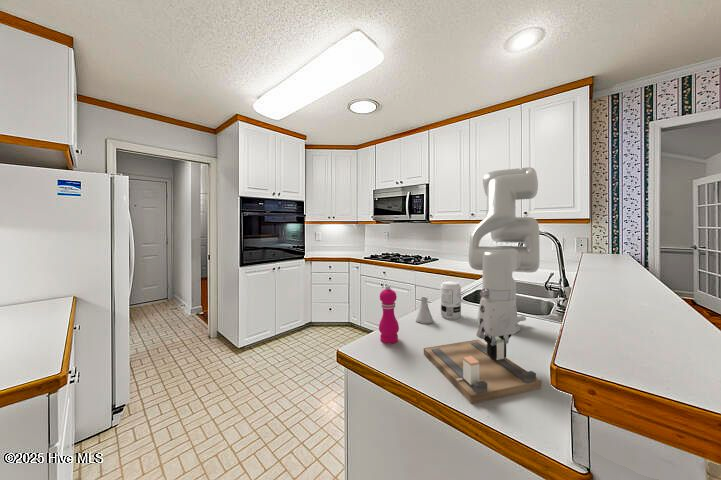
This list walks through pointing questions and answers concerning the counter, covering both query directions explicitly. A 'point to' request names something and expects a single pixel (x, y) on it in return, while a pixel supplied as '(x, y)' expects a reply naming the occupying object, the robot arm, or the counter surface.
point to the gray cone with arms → (424, 312)
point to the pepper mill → (388, 317)
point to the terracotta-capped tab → (470, 369)
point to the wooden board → (481, 371)
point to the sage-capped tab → (499, 348)
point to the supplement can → (450, 299)
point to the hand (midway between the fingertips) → (496, 355)
